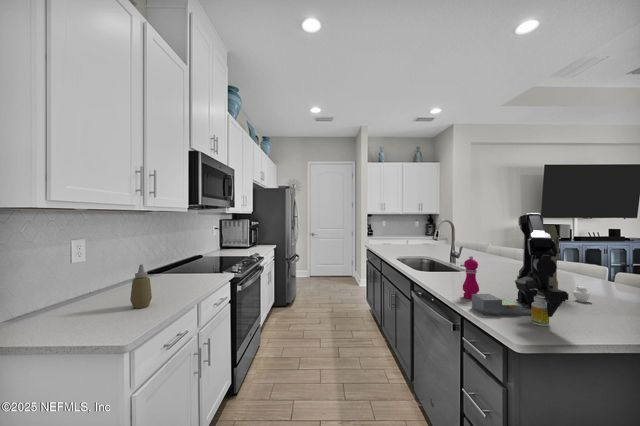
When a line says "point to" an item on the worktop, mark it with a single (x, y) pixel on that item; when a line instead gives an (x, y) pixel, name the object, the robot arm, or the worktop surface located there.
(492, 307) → the stand
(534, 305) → the supplement bottle
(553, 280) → the thermos
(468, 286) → the pepper mill
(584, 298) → the muffin
